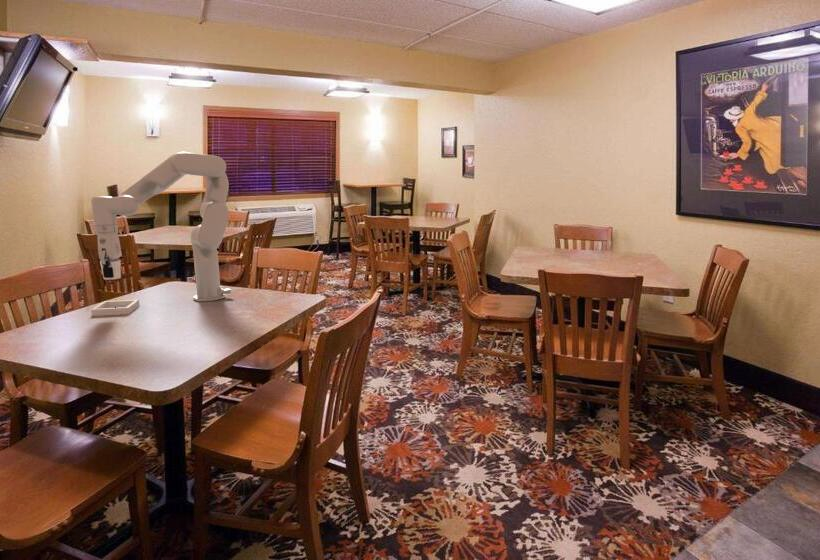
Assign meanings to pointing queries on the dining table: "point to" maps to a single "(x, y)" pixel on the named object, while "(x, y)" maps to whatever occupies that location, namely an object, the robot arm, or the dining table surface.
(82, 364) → the dining table surface
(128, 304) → the box
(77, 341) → the dining table surface
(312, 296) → the dining table surface
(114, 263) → the shot glass
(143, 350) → the dining table surface
